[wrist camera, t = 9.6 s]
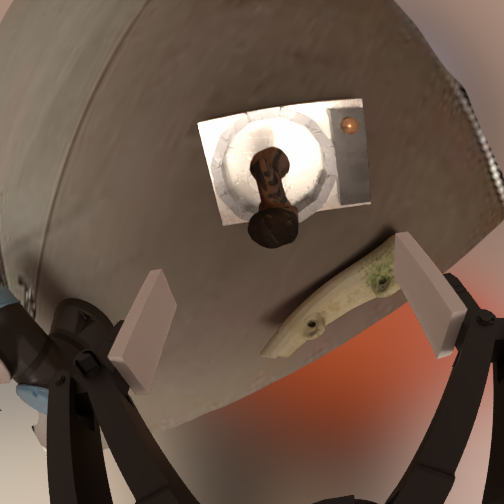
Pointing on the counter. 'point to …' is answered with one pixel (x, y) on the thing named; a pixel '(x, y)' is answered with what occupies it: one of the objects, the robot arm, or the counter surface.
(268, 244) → the figurine
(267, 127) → the white flat device
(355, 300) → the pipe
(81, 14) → the counter surface
